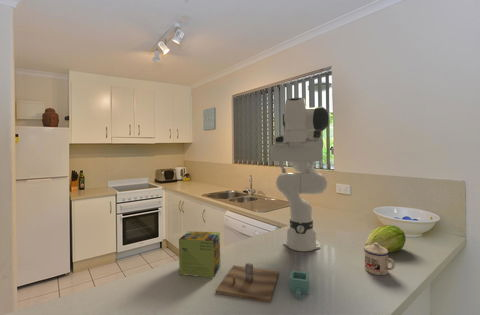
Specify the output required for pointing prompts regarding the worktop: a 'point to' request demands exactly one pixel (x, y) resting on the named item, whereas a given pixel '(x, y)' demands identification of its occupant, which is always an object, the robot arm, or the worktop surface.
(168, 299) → the worktop surface
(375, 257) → the teacup with lid
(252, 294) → the post board
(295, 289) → the teal open cubby box
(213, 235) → the protein box
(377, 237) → the lettuce
